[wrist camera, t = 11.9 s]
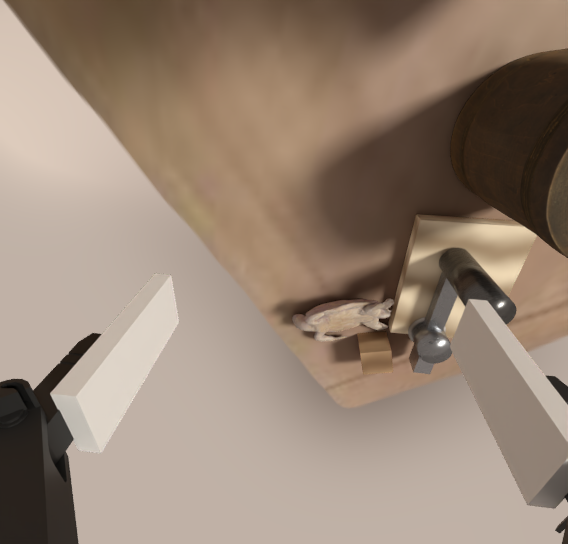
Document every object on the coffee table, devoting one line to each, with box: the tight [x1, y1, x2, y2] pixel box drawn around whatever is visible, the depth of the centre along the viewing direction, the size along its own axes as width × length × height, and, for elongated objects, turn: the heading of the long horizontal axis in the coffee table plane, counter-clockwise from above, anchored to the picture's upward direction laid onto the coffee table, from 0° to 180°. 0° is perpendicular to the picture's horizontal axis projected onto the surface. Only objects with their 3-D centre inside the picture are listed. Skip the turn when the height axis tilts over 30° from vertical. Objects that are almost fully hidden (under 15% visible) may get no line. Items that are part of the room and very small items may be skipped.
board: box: [388, 214, 537, 342], centre depth 44 cm, size 20×14×2 cm
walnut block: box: [357, 331, 393, 375], centre depth 50 cm, size 4×4×4 cm
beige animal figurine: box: [292, 298, 394, 342], centre depth 47 cm, size 16×10×10 cm, turn 127°
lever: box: [409, 248, 516, 374], centre depth 40 cm, size 19×4×11 cm, turn 176°
